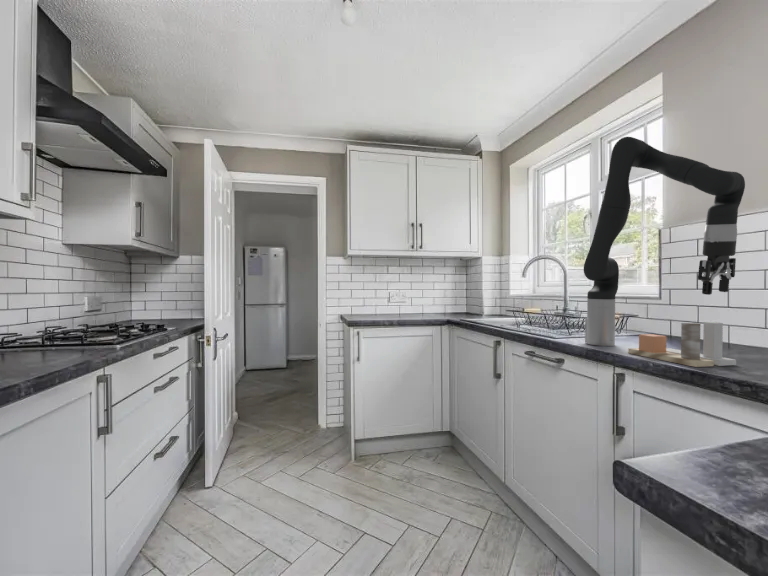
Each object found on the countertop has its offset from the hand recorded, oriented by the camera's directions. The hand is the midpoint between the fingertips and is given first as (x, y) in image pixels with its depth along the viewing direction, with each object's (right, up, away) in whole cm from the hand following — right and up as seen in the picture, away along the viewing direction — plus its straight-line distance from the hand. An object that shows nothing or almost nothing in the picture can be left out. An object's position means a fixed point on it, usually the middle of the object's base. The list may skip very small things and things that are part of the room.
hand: (715, 293), depth 119 cm
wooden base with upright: (-16, -20, -2) cm, 26 cm away
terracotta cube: (-17, -18, +3) cm, 25 cm away
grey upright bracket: (-8, -20, 0) cm, 22 cm away
